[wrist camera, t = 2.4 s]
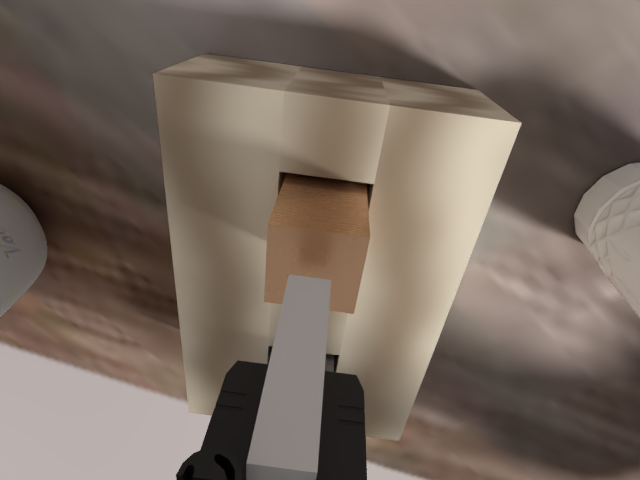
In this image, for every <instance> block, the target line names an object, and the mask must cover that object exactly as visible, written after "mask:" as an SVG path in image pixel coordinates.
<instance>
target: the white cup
mask: <svg viewBox="0 0 640 480" xmlns="http://www.w3.org/2000/svg"><path fill="white" fill-rule="evenodd" d="M574 221H575V232H576V235H577V236H578V237H579V238H580V240H581V241H582V242H583V243H584V244H585V246H586V247H587V248H588V249H589V250H590V252H591V253H592V255H593V256H594V257H595V259H596V261H597V264H598V265H599V267H600V268H601V269H602V271H603V272H604V274H605V275H606V276H607V278H608V279H609V280H610V282H611V283H612V284H613V285H614V287H615V288H616V289H617V290H618V292H619V293H620V294H621V295H622V297H623V298H624V299H625V300H626V302H627V303H628V304H629V306H630V307H631V308H632V309H633V311H634V312H635V313H636V314H637V316H638V317H639V318H640V163H631V164H627V165H625V166H623V167H621V168H619V169H617V170H615V171H612V172H610V173H608V174H606V175H604V176H602V177H601V178H600V179H599V180H598V181H597V182H596V183H595V184H594V185H593V186H592V187H591V188H590V189H589V190H588V191H587V192H586V193H584V195H583V197H582V199H581V201H580V203H579V205H578V207H577V209H576V212H575V214H574Z"/></svg>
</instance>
